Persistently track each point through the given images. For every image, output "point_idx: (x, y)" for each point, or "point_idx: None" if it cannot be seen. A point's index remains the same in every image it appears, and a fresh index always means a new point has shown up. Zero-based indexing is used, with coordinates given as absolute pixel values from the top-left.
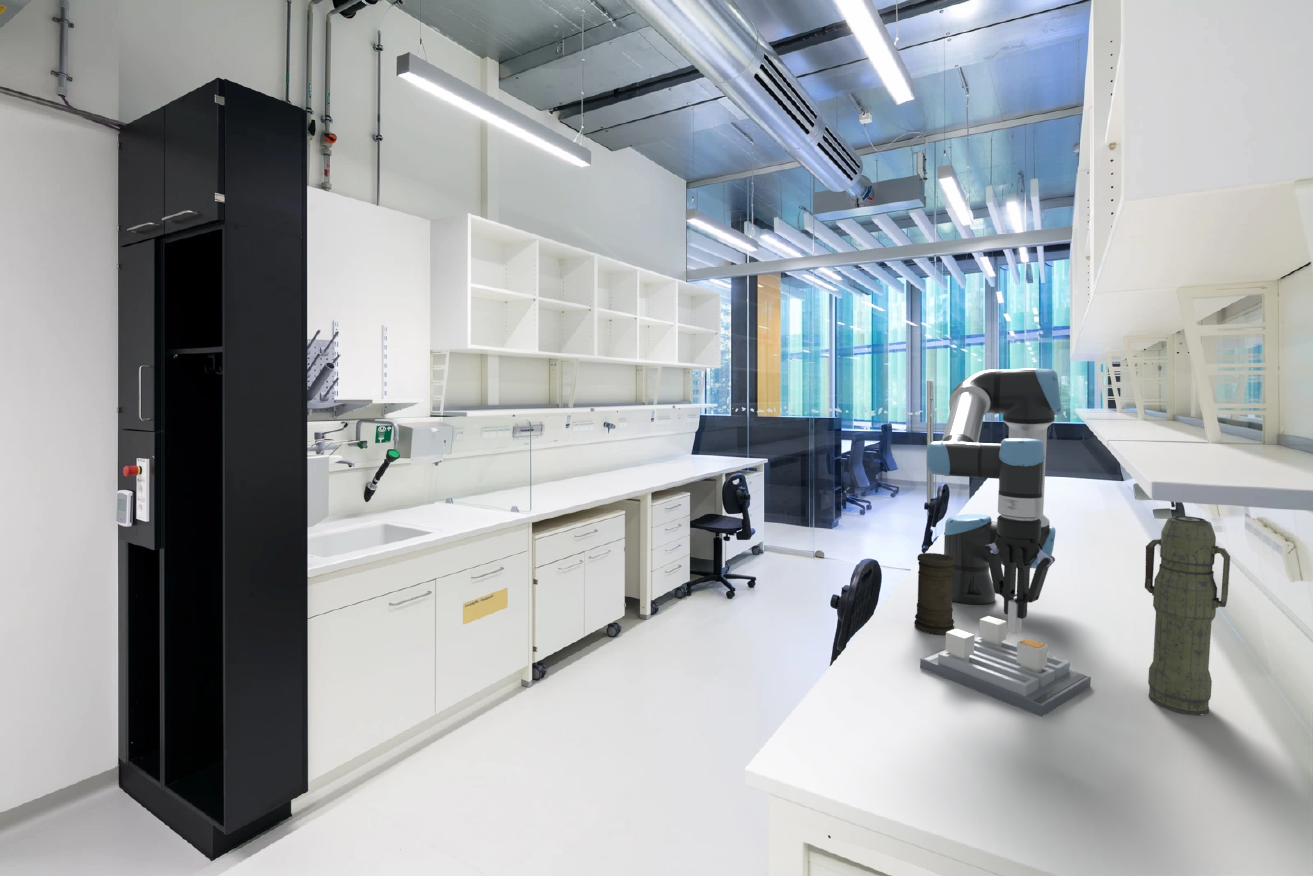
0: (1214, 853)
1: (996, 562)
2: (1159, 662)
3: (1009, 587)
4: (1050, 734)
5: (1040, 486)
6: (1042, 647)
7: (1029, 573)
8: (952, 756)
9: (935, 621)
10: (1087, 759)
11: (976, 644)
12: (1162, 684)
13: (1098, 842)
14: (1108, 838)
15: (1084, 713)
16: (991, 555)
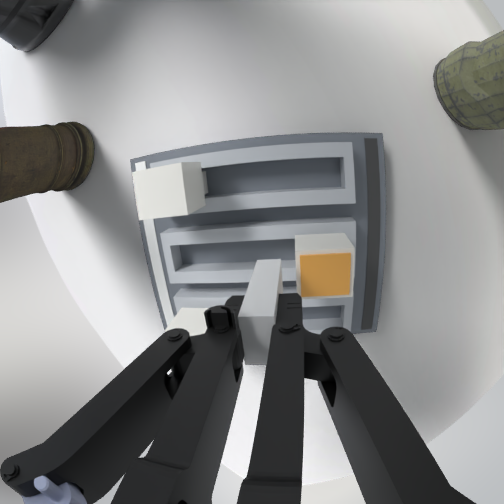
0: (491, 382)
1: (112, 467)
2: (498, 109)
3: (234, 406)
4: (392, 352)
5: None
6: (353, 277)
7: (302, 445)
8: (333, 439)
9: (67, 179)
10: (430, 361)
11: (178, 234)
12: (484, 125)
13: (437, 427)
14: (442, 421)
15: (410, 257)
16: (92, 498)
